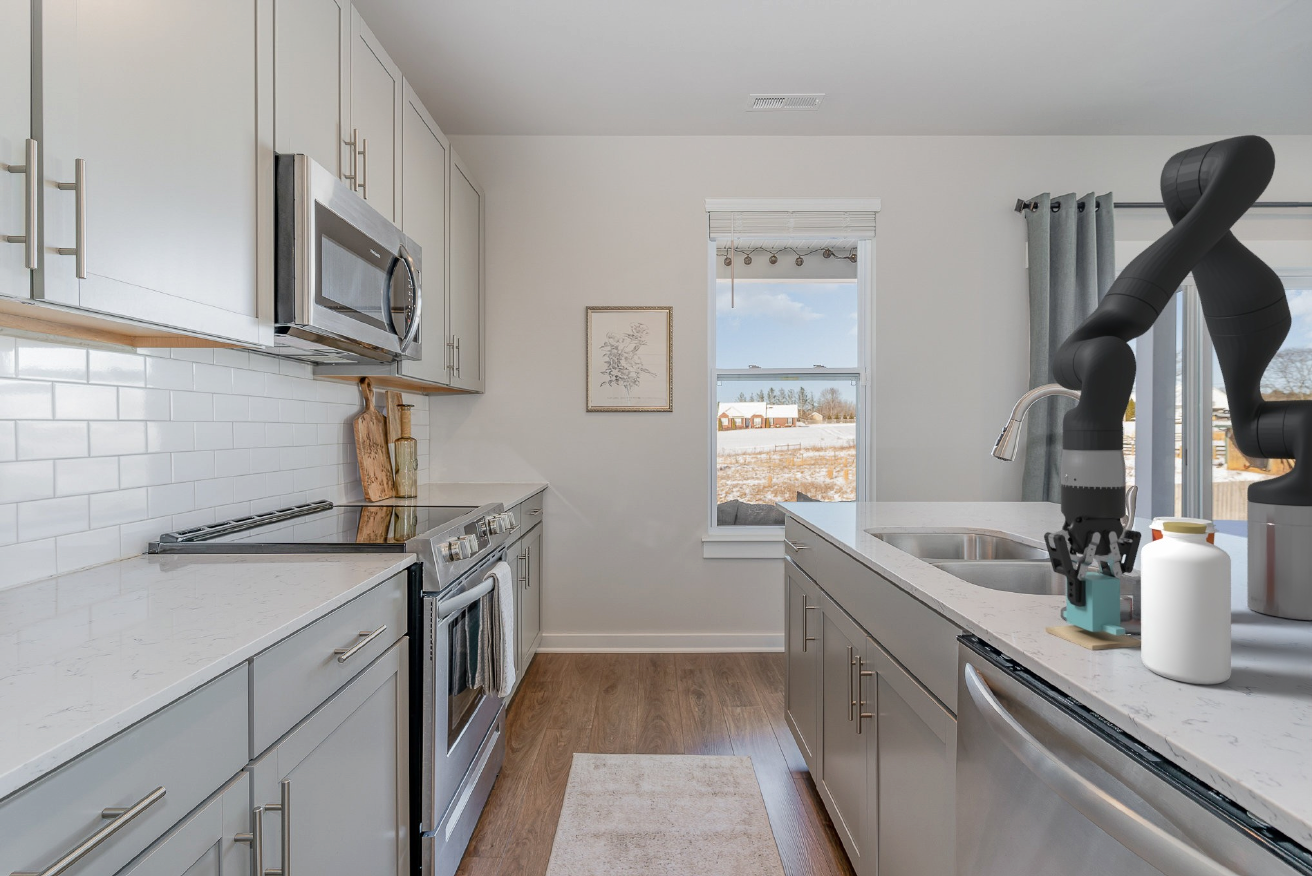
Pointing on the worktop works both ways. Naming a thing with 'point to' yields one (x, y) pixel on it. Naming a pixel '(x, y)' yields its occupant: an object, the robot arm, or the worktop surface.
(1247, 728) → the worktop surface
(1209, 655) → the potion bottle
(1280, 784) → the worktop surface
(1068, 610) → the teal block with tabs
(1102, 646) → the coaster
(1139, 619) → the grey round stand
